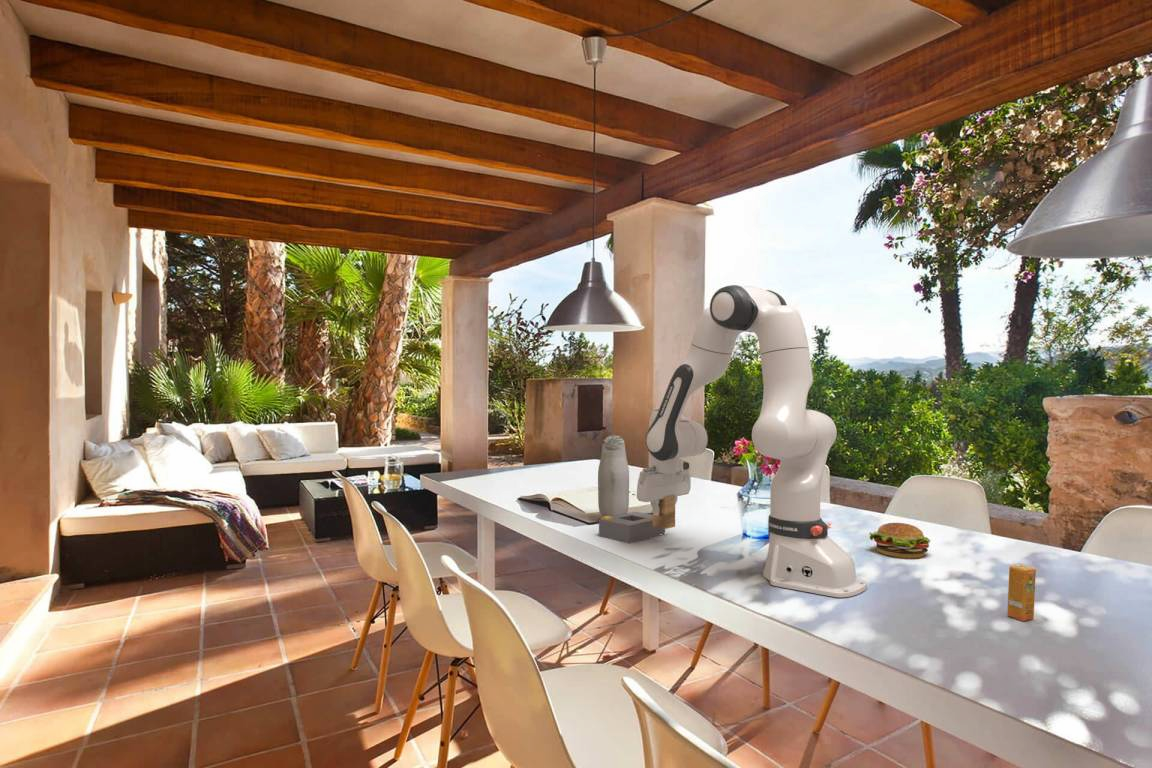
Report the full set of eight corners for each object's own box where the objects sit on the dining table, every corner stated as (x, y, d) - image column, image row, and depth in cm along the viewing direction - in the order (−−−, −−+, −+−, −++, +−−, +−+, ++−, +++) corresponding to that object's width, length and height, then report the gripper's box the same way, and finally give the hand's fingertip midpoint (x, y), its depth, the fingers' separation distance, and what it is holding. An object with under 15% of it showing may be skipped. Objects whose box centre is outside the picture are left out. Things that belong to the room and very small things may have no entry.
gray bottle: (595, 518, 218) (596, 434, 218) (626, 517, 220) (626, 433, 219) (600, 524, 209) (600, 436, 208) (631, 523, 210) (632, 436, 210)
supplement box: (1024, 622, 125) (1025, 569, 125) (1006, 616, 128) (1007, 565, 128) (1036, 619, 126) (1036, 567, 126) (1017, 613, 130) (1018, 563, 130)
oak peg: (675, 526, 186) (675, 494, 186) (665, 529, 183) (665, 496, 183) (662, 524, 189) (662, 492, 189) (652, 526, 186) (652, 494, 186)
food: (898, 544, 184) (898, 516, 184) (940, 557, 171) (940, 527, 171) (858, 548, 180) (858, 519, 180) (898, 562, 167) (898, 530, 167)
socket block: (665, 534, 196) (665, 515, 196) (629, 543, 185) (629, 523, 185) (634, 527, 205) (634, 509, 205) (598, 535, 194) (598, 517, 194)
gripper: (648, 469, 177) (648, 520, 177) (694, 463, 191) (694, 510, 191) (631, 467, 181) (631, 517, 181) (677, 461, 195) (677, 507, 195)
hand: (664, 513), depth 186 cm, fingers closed on oak peg, 4 cm apart
